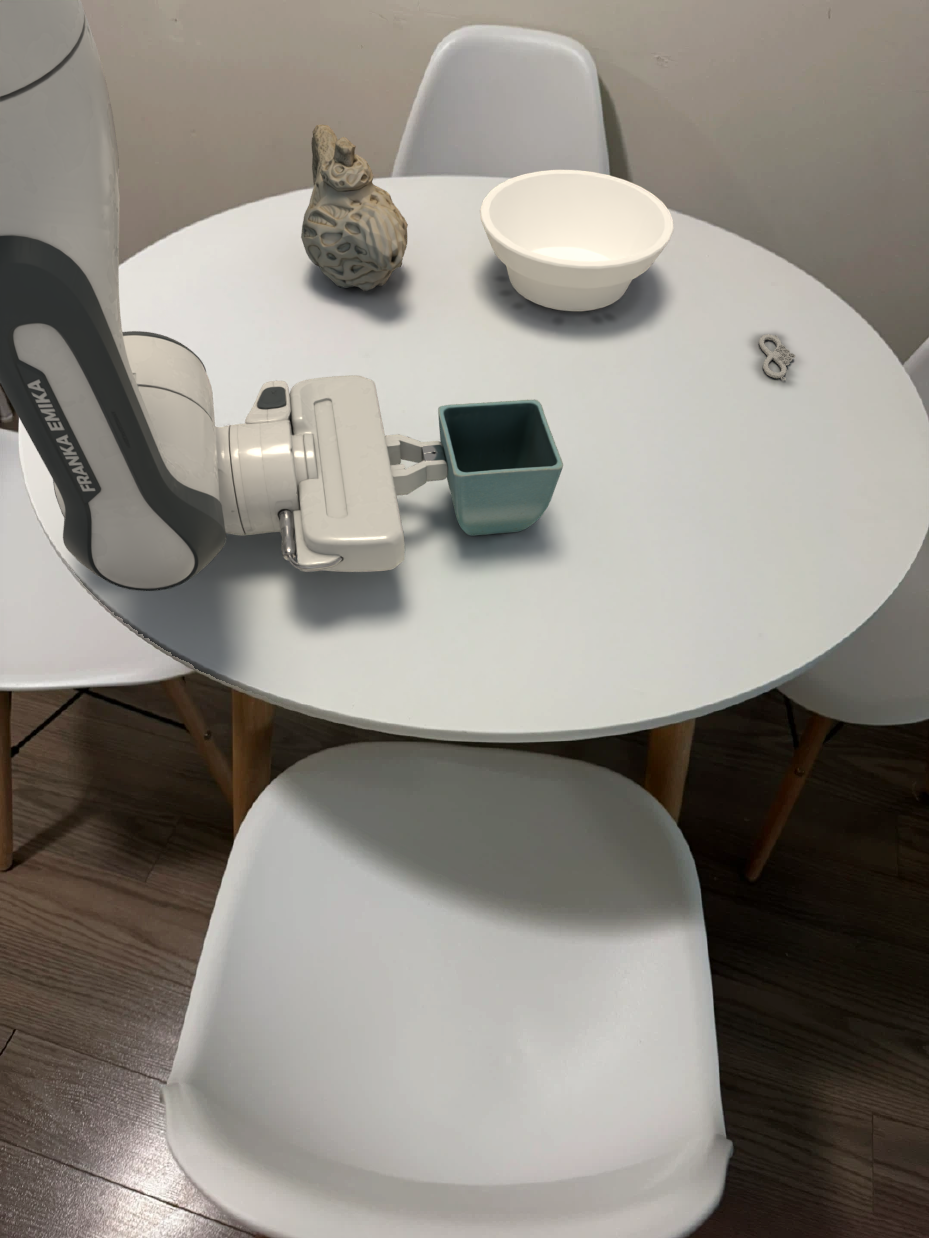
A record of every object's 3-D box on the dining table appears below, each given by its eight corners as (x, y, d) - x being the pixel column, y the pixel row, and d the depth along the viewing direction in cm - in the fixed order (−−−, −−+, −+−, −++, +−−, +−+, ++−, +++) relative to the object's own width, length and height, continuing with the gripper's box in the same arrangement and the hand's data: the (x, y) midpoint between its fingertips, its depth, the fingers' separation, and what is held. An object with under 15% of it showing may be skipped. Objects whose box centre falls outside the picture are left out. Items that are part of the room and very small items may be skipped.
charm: (758, 330, 96) (791, 333, 95) (757, 334, 96) (789, 337, 96) (766, 374, 91) (800, 378, 90) (764, 379, 91) (798, 382, 91)
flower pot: (528, 476, 81) (539, 397, 74) (550, 545, 76) (565, 467, 69) (434, 484, 80) (436, 404, 73) (450, 555, 74) (454, 476, 67)
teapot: (440, 311, 97) (441, 172, 85) (342, 335, 94) (329, 194, 82) (366, 221, 109) (359, 88, 97) (277, 239, 105) (258, 104, 93)
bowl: (451, 251, 105) (453, 181, 99) (610, 226, 110) (622, 159, 103) (516, 351, 93) (523, 280, 86) (691, 319, 98) (710, 249, 91)
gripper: (277, 543, 62) (468, 522, 64) (265, 368, 75) (426, 355, 76) (288, 599, 67) (466, 578, 69) (275, 427, 79) (426, 413, 81)
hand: (444, 459), depth 73 cm, fingers closed, pressing on flower pot
